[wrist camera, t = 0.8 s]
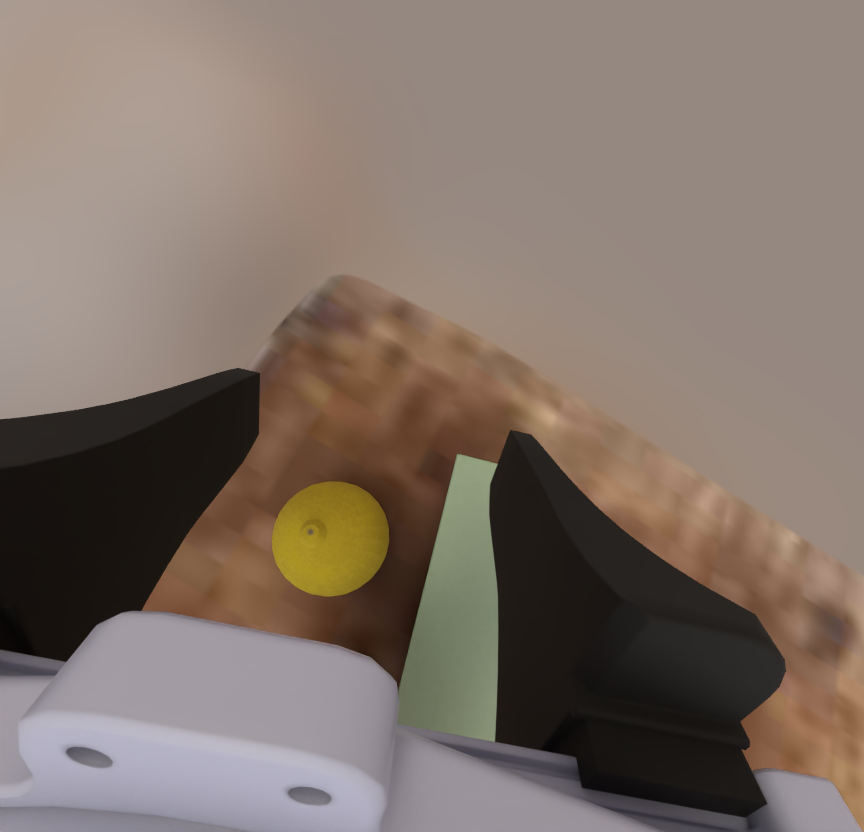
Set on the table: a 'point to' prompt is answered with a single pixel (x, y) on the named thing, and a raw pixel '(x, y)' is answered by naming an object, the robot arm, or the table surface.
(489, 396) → the table surface
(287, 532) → the lemon
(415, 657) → the green block
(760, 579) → the table surface
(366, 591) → the table surface
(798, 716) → the table surface
